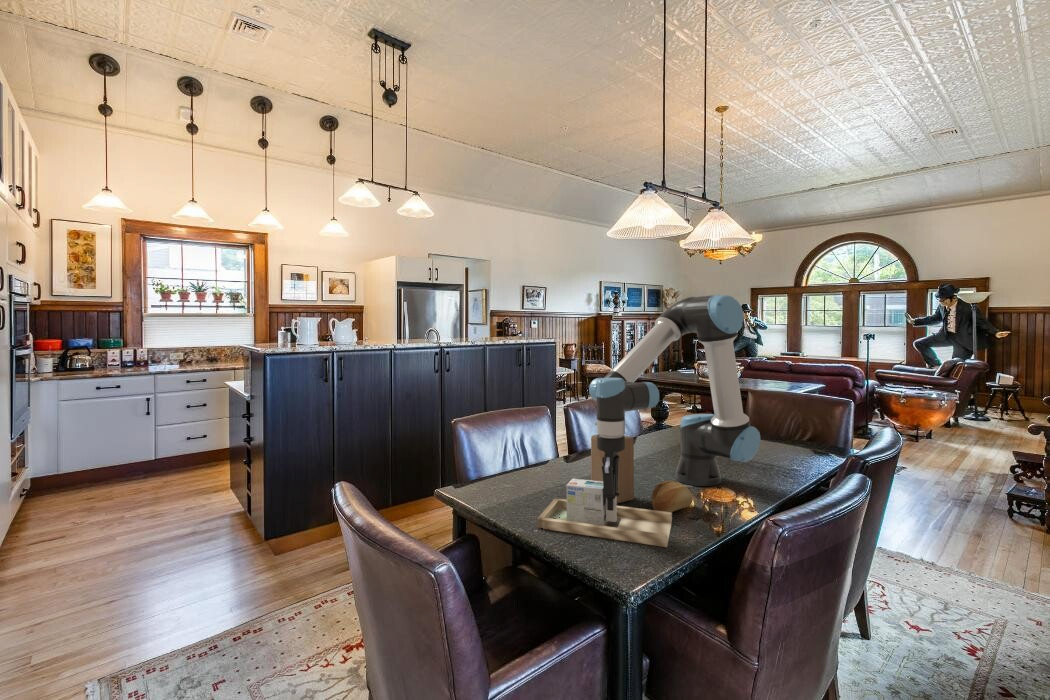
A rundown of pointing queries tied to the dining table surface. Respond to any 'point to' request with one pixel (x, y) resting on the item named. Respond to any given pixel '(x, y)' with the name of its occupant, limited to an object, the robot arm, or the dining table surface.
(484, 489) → the dining table surface
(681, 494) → the bread roll
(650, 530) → the birch trough
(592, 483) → the light bulb box
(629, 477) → the block
